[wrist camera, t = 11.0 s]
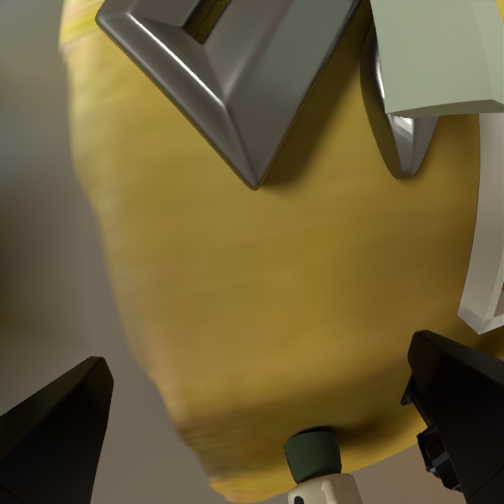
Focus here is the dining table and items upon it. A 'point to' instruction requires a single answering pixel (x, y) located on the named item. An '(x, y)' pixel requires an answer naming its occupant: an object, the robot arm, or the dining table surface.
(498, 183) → the rack
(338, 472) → the character mug
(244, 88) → the emblem
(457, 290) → the dining table surface
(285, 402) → the dining table surface
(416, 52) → the pale green rectangular slab
